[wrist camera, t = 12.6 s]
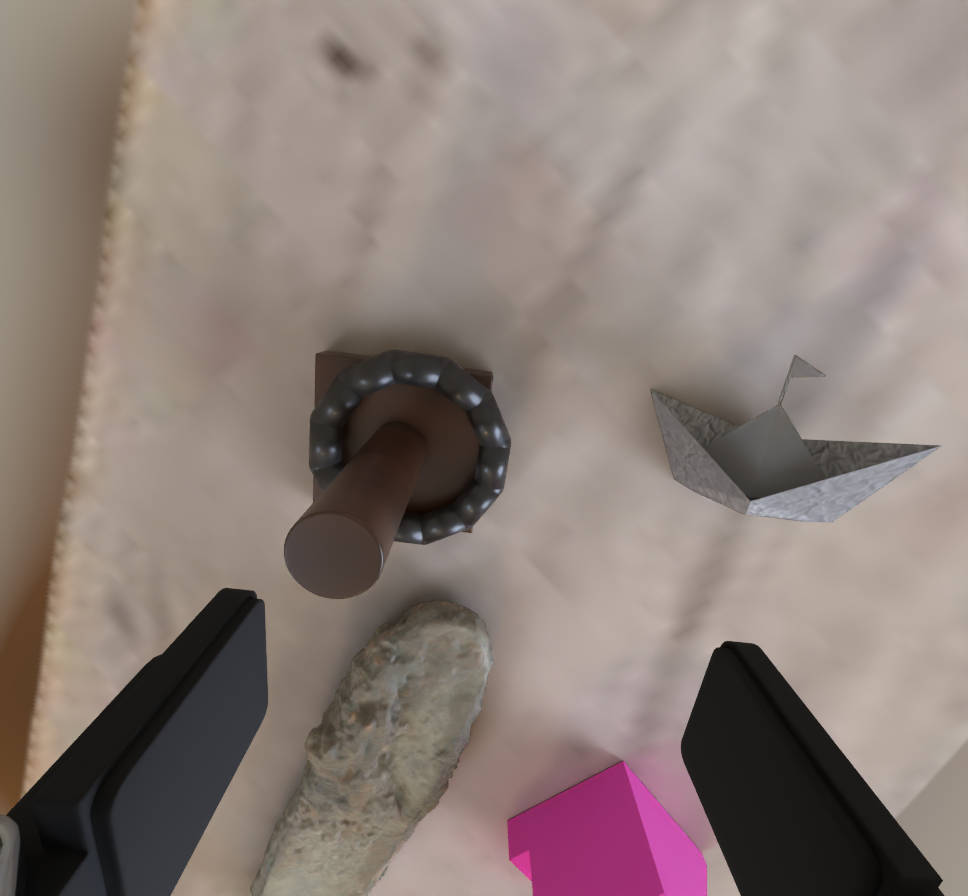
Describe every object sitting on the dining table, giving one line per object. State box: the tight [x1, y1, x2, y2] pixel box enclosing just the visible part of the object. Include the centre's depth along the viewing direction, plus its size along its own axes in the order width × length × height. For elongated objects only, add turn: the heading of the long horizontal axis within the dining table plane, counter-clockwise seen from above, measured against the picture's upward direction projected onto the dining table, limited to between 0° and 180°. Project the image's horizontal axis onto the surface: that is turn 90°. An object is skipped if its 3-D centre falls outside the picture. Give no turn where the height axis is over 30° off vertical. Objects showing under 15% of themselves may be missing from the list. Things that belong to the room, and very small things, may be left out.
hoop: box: [309, 350, 511, 545], centre depth 23 cm, size 10×10×2 cm
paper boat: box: [650, 355, 941, 522], centre depth 22 cm, size 12×6×9 cm
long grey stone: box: [250, 600, 494, 896], centre depth 31 cm, size 35×5×10 cm
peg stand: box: [284, 351, 493, 599], centre depth 19 cm, size 9×9×12 cm
